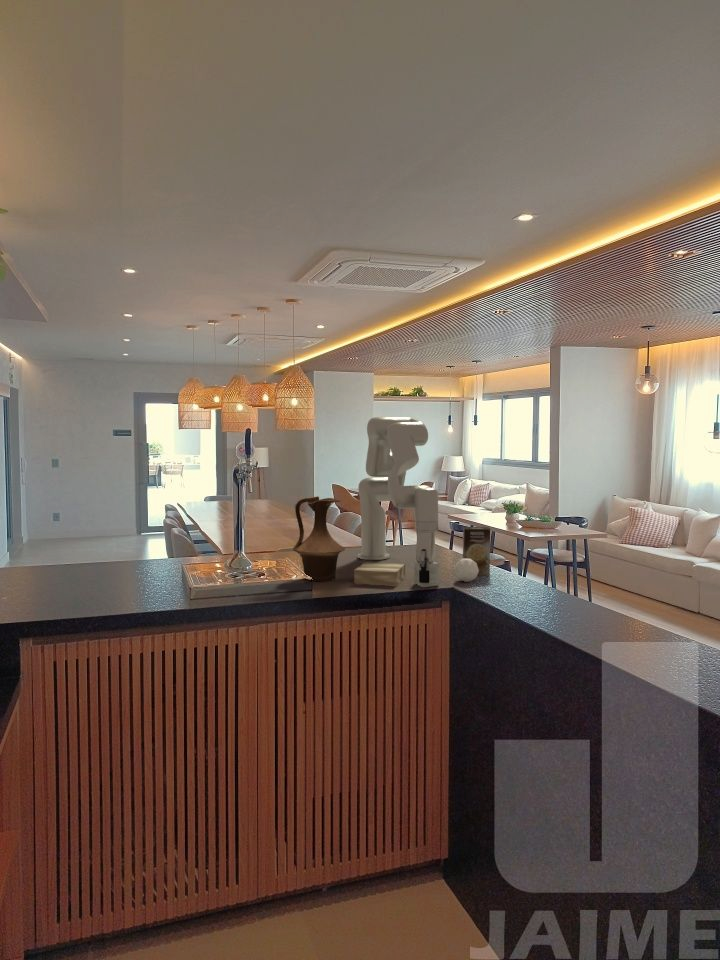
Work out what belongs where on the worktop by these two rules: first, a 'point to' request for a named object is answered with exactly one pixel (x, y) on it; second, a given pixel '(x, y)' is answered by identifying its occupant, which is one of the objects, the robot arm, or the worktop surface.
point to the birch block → (379, 574)
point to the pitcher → (318, 542)
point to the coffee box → (477, 547)
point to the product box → (432, 574)
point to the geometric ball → (466, 570)
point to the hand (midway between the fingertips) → (426, 579)
